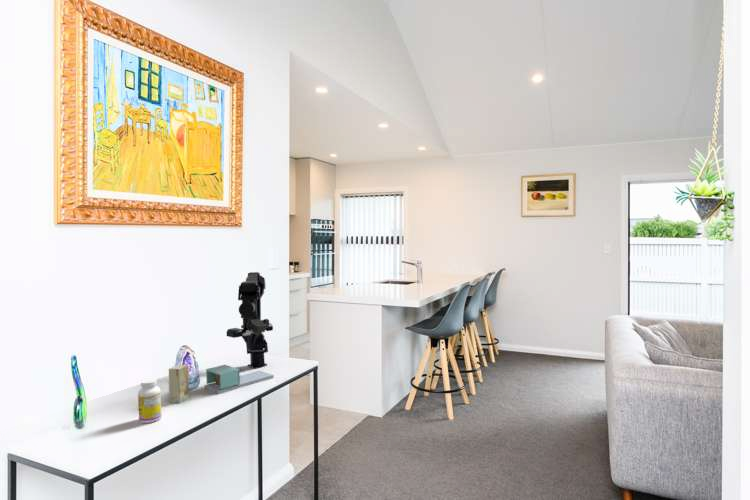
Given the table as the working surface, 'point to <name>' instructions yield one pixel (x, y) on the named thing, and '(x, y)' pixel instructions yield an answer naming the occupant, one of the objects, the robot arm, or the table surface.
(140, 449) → the table surface
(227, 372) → the block
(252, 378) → the grey flat rectangular block
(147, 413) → the supplement bottle
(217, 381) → the block
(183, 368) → the skincare box
